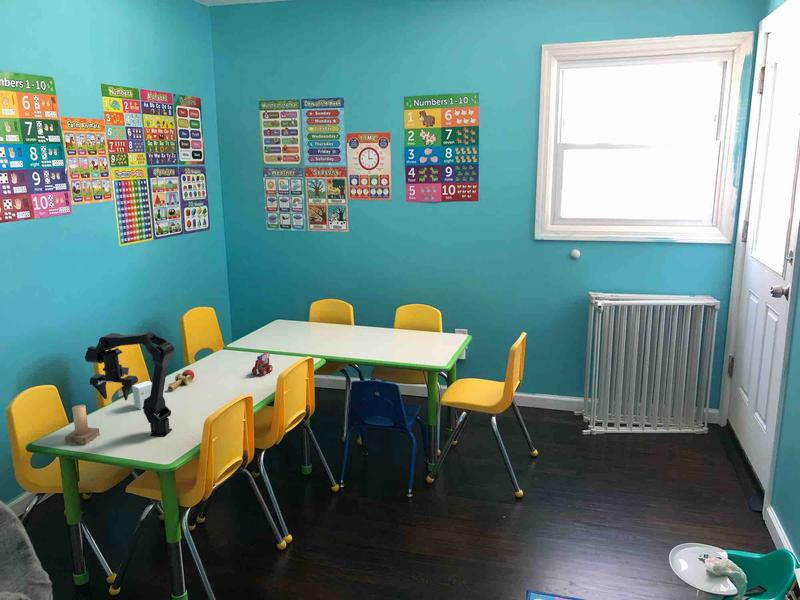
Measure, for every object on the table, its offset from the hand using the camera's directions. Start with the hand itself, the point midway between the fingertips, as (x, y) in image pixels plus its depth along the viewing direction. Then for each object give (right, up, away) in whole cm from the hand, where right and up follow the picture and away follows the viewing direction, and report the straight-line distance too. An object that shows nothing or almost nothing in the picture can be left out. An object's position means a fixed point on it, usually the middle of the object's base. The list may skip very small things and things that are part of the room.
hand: (116, 399), depth 266 cm
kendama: (+10, -1, +52) cm, 53 cm away
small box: (+2, -7, +26) cm, 28 cm away
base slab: (-11, -15, -7) cm, 20 cm away
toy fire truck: (+47, +3, +67) cm, 82 cm away
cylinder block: (-10, -12, -7) cm, 18 cm away
